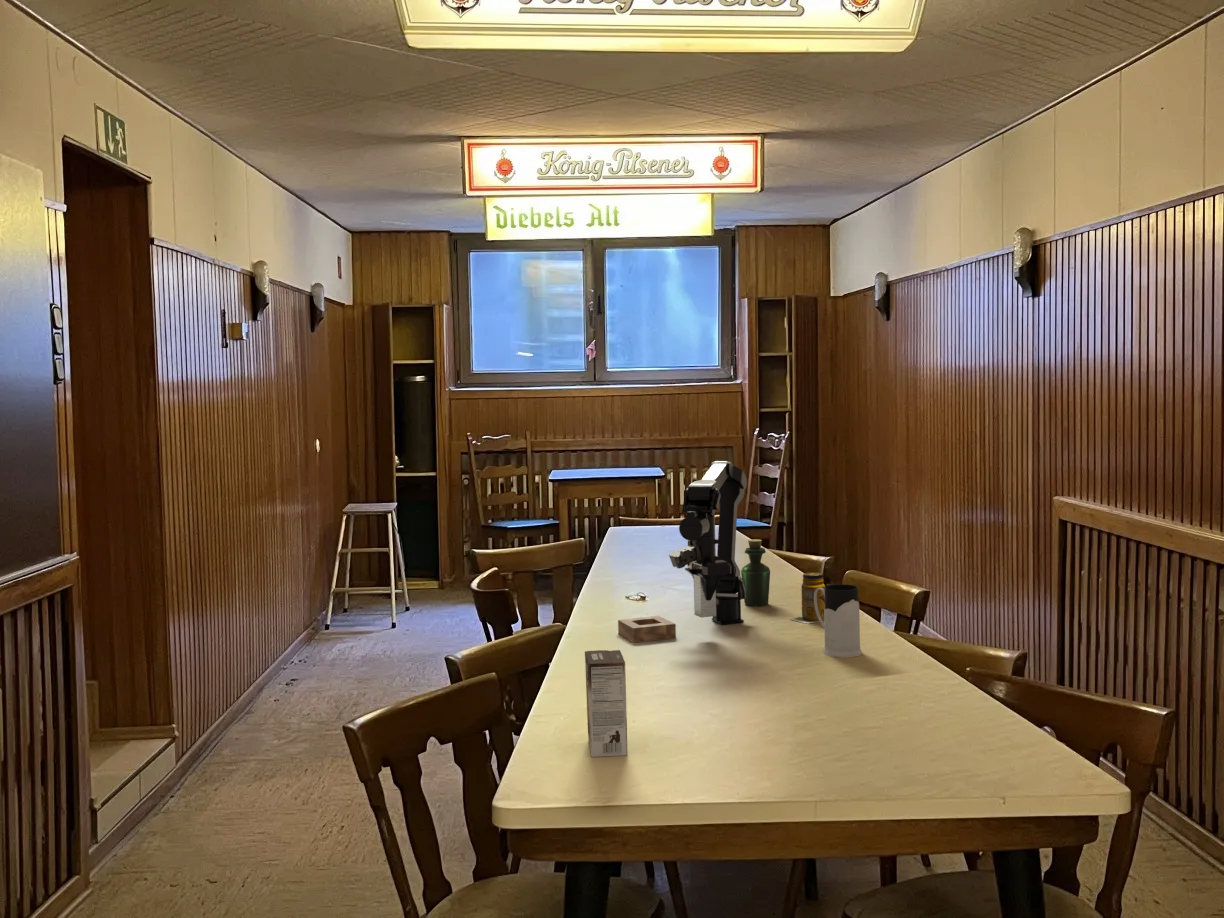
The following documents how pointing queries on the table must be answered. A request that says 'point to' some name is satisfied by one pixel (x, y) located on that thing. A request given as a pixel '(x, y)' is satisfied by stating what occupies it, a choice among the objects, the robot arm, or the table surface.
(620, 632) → the block
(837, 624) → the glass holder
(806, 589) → the condiment
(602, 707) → the coffee box
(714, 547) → the robot arm
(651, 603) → the table surface
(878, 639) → the table surface
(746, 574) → the potion bottle
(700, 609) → the grey long rectangular block
